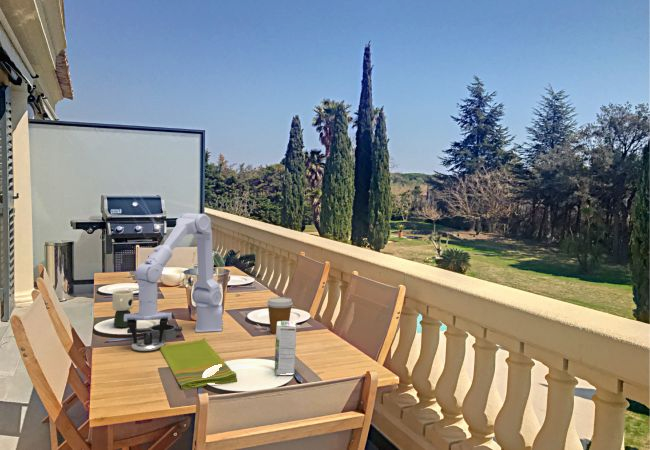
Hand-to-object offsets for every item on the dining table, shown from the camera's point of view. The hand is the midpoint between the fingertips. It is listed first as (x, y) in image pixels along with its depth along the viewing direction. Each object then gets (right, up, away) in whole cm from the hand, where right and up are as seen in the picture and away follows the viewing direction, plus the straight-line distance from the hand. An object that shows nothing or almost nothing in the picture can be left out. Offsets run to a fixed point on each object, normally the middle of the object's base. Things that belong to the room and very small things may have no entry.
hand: (147, 341), depth 167 cm
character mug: (-17, 0, +23) cm, 29 cm away
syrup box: (+46, -5, -18) cm, 49 cm away
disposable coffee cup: (+41, -2, +23) cm, 47 cm away
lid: (0, -2, 0) cm, 2 cm away
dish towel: (+19, -5, -14) cm, 24 cm away
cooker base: (-1, -1, +11) cm, 11 cm away
